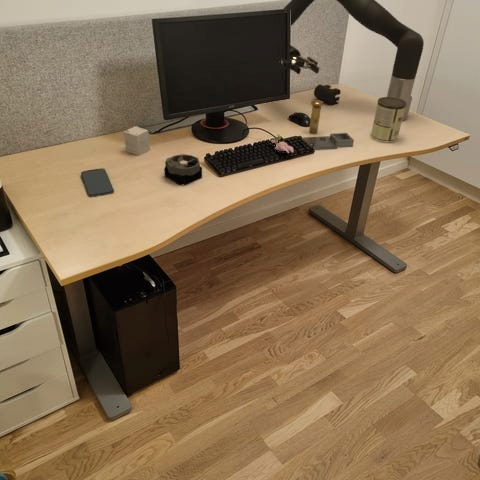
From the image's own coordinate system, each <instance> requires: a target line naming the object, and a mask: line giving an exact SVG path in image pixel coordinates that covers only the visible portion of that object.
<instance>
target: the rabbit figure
mask: <svg viewBox="0 0 480 480" xmlns="http://www.w3.org/2000/svg"><path fill="white" fill-rule="evenodd" d="M273 139H274V140H273ZM273 139H271V140H270V141H271V142H272V143H275V144H276V147H274V150H275V149H276V150H279V151H286V152H285V153H288V154H290V152H291V153H294V150H295V149H294V147H293V146H291V145H289V144H288V143H286V142H285V141H280V140H281V139H282V137H281V135H280V134H277V137H275V138H273ZM278 140H279V143H278ZM274 146H275V145H274ZM276 150H275V151H276ZM279 151H278V152H279Z"/></svg>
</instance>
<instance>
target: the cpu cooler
mask: <svg viewBox="0 0 480 480" xmlns="http://www.w3.org/2000/svg"><path fill="white" fill-rule="evenodd" d="M164 162H165V163H164V164H165V165H164V168H163V170H164V172H163V173H164V178H165V179H167V180H170V181H171V182H173V183H175V184H178V185H179V186H182V185H183V186H186V185H189V184H191V183H193V182H195V181H196V182H197V180H200V179H201V178H203V166H201V165H200V160H199V157H196V156H193V155H191V154H175V155H173V156H169V157H167V158H166V159H165V161H164Z"/></svg>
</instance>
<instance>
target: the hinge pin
mask: <svg viewBox="0 0 480 480" xmlns="http://www.w3.org/2000/svg"><path fill="white" fill-rule="evenodd" d="M310 105H311V114H310V115H311V116H310V120H309V121H310V123H309V127H308V128H309V129H308V133H309V134H311V135H317V134H318V132H319V124H320V123H319V122H320V117H321V110H322V107H323V106H324V102H323V101H321V100H318V99H313V100H311V102H310Z"/></svg>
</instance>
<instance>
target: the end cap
mask: <svg viewBox="0 0 480 480" xmlns="http://www.w3.org/2000/svg"><path fill="white" fill-rule="evenodd" d="M313 95H314V98H316V100H320V101H323V103H325V104H328V105H331V106H334V105H338V104H339V101H340V96H339V95H341V89H340V88H332V86H331V85H329V84H325V85H322V84H317V86H316V87H315V88H314V90H313Z"/></svg>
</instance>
